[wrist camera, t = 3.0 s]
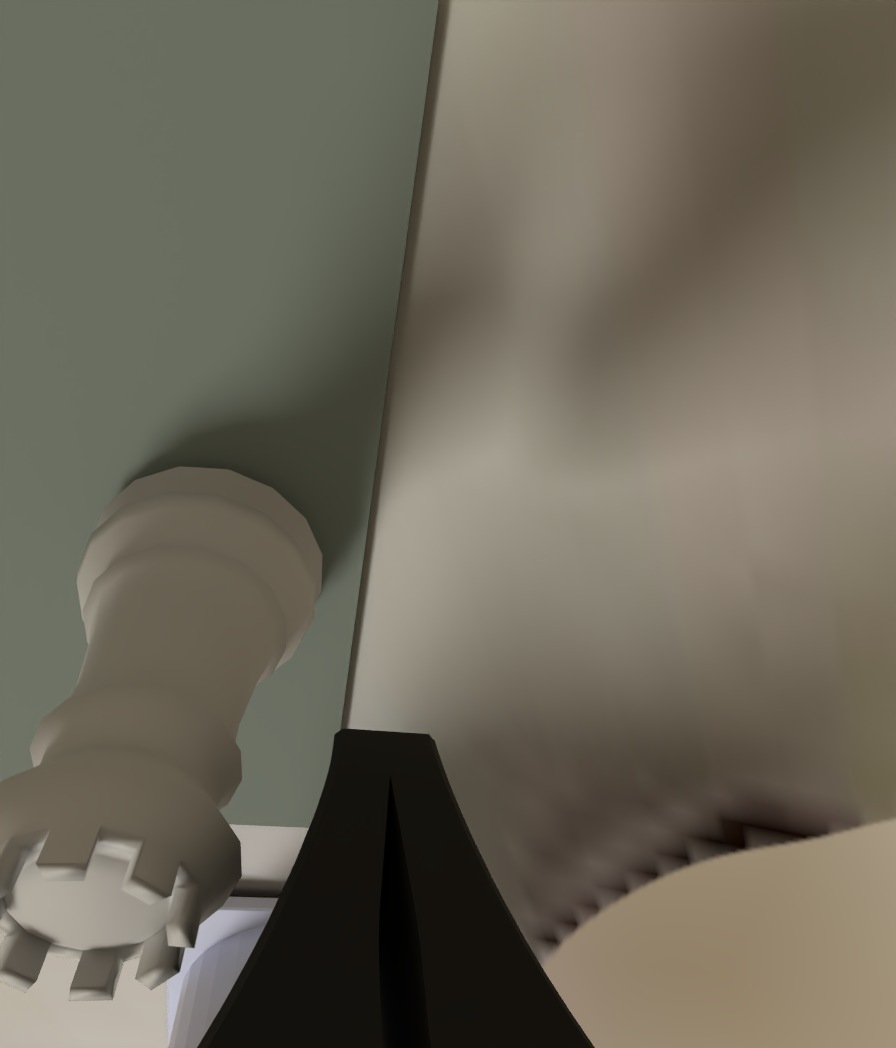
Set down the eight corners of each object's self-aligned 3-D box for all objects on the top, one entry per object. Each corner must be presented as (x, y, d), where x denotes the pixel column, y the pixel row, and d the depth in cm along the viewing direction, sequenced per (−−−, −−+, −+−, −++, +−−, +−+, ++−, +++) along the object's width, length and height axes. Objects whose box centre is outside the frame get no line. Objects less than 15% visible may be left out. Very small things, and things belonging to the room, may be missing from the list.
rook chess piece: (88, 620, 16) (-141, 1031, 9) (109, 429, 14) (-167, 762, 7) (300, 659, 17) (245, 1057, 10) (348, 485, 15) (322, 829, 8)
